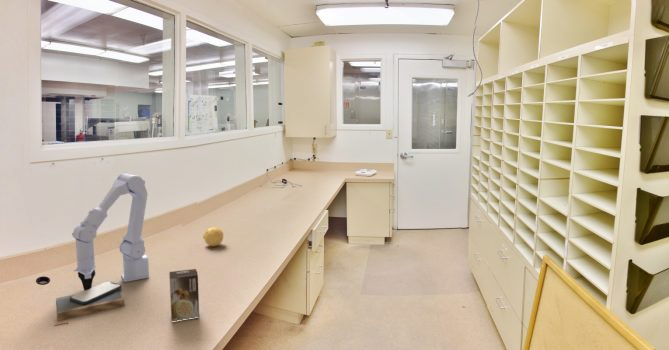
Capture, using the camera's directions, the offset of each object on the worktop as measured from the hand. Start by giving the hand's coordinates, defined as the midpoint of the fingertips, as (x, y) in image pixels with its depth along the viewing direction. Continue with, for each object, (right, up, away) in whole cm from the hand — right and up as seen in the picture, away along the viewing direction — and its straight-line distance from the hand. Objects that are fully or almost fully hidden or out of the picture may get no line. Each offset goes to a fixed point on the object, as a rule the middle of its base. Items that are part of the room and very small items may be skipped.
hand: (87, 289), depth 154 cm
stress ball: (+31, +7, +57) cm, 65 cm away
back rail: (+11, -4, -14) cm, 18 cm away
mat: (+5, -2, -7) cm, 9 cm away
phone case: (+5, -1, -2) cm, 6 cm away
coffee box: (+43, -5, -15) cm, 46 cm away
